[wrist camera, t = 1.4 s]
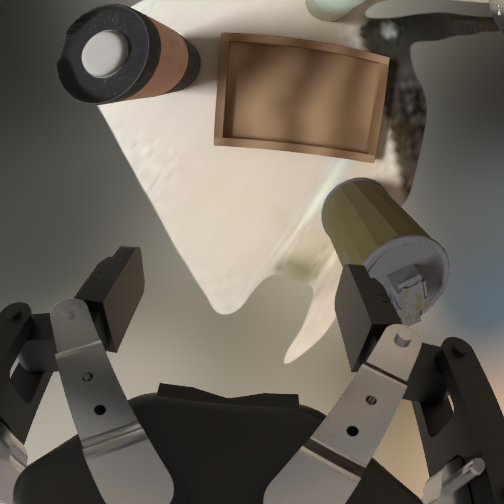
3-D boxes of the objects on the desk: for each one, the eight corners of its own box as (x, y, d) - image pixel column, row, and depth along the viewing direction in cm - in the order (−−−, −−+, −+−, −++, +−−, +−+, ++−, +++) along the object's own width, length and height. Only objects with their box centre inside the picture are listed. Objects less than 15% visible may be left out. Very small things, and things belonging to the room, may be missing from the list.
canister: (309, 195, 42) (346, 282, 24) (379, 166, 39) (458, 232, 22) (336, 258, 47) (373, 360, 29) (398, 232, 44) (463, 320, 27)
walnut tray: (383, 58, 32) (389, 57, 30) (369, 159, 39) (374, 163, 37) (223, 35, 32) (221, 32, 30) (215, 142, 38) (213, 145, 37)
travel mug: (213, 76, 34) (171, 68, 17) (159, 104, 36) (79, 127, 19) (187, 26, 31) (125, -18, 13) (134, 56, 33) (40, 46, 15)
